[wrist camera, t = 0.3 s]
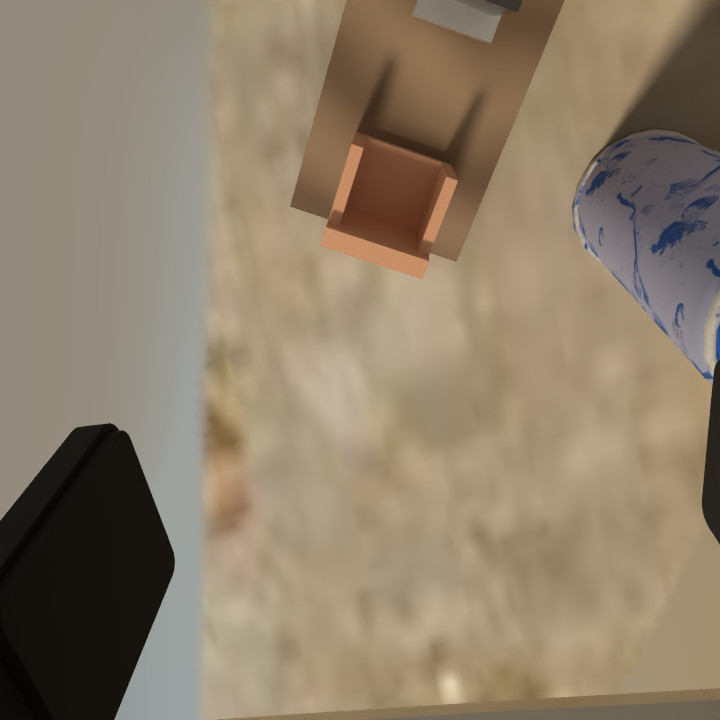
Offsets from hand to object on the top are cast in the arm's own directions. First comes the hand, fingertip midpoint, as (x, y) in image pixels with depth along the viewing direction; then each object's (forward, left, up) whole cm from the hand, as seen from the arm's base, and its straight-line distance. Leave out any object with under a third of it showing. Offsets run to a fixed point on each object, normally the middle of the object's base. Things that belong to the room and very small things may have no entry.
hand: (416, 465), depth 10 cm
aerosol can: (-2, +14, -29) cm, 32 cm away
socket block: (+2, 0, -28) cm, 28 cm away
